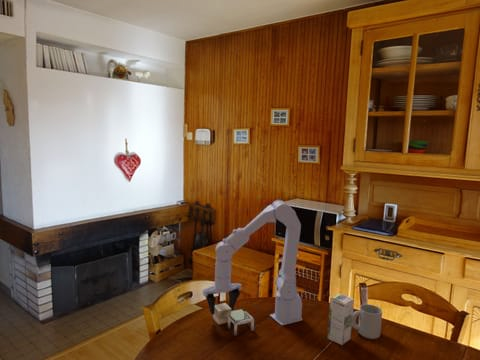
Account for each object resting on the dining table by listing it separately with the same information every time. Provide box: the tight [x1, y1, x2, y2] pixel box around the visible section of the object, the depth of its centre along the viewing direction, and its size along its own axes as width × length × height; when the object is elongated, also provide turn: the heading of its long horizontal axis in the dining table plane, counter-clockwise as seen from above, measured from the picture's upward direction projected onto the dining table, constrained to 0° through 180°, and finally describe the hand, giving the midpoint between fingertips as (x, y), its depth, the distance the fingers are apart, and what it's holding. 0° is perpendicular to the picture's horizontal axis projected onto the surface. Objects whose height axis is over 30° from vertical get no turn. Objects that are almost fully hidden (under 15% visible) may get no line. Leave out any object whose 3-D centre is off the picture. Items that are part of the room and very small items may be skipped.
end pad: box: [231, 308, 249, 322], centre depth 131 cm, size 7×7×1 cm
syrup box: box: [326, 293, 355, 346], centre depth 117 cm, size 6×6×14 cm
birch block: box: [212, 302, 232, 325], centre depth 128 cm, size 5×5×5 cm
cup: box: [352, 303, 383, 340], centre depth 121 cm, size 7×10×9 cm
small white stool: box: [227, 311, 255, 336], centre depth 122 cm, size 8×6×4 cm
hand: (221, 311), depth 128 cm, fingers open, 7 cm apart
